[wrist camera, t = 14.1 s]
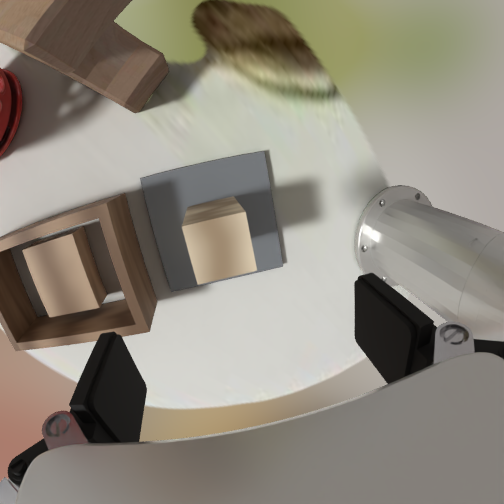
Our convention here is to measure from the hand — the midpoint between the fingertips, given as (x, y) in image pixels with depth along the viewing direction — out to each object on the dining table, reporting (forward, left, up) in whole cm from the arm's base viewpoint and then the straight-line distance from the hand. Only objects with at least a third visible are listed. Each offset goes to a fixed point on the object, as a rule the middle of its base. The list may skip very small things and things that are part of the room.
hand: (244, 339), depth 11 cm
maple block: (0, 0, -19) cm, 19 cm away
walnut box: (+17, +1, -19) cm, 26 cm away
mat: (0, 0, -19) cm, 19 cm away
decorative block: (+7, -18, -20) cm, 28 cm away
